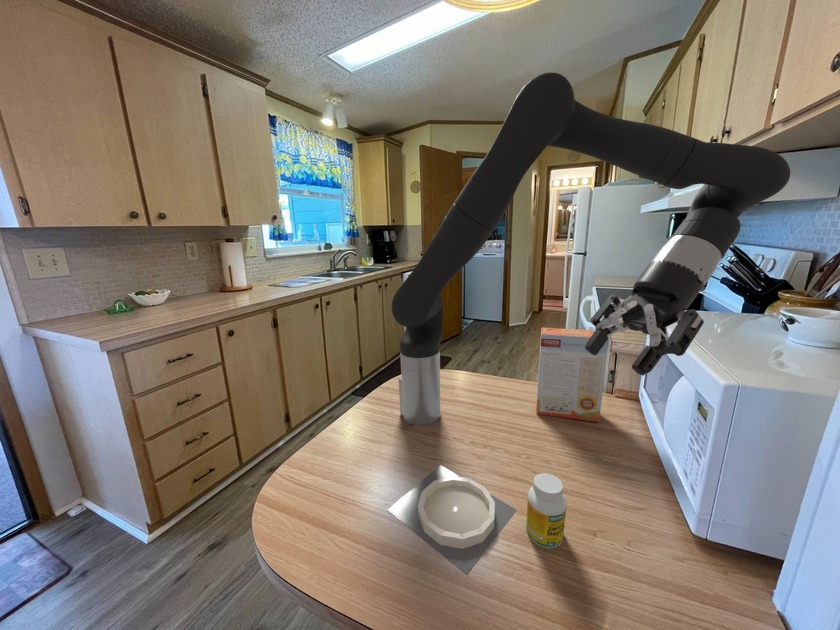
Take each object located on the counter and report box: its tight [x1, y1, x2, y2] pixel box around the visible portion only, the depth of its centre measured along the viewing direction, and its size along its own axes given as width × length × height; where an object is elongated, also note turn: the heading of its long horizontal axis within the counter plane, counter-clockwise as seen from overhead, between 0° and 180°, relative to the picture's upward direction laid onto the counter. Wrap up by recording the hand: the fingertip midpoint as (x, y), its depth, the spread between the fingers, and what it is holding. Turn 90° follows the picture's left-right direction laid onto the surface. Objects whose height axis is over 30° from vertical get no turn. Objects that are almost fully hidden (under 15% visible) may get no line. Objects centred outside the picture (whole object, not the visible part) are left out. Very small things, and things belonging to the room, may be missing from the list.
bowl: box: [418, 476, 495, 549], centre depth 55 cm, size 12×12×2 cm
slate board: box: [386, 464, 517, 575], centre depth 56 cm, size 16×14×1 cm
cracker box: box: [535, 326, 610, 423], centre depth 81 cm, size 14×6×21 cm, turn 71°
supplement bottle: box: [525, 473, 567, 549], centre depth 50 cm, size 5×5×10 cm
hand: (611, 361), depth 51 cm, fingers open, 8 cm apart
